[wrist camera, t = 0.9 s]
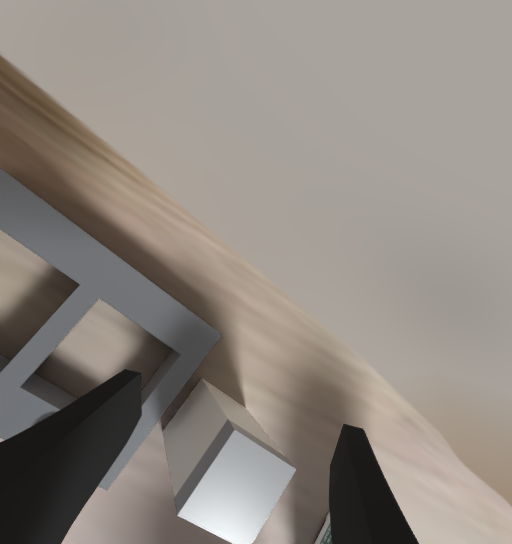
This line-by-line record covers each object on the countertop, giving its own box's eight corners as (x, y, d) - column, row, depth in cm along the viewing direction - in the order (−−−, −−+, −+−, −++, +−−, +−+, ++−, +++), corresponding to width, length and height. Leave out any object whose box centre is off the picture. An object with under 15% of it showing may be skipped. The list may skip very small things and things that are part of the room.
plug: (162, 431, 22) (177, 515, 14) (201, 377, 23) (234, 429, 15) (210, 460, 23) (247, 551, 15) (245, 408, 24) (296, 469, 16)
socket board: (-160, 325, 16) (-217, 335, 13) (6, 172, 18) (-15, 156, 16) (109, 465, 20) (106, 493, 18) (212, 328, 23) (223, 335, 20)
